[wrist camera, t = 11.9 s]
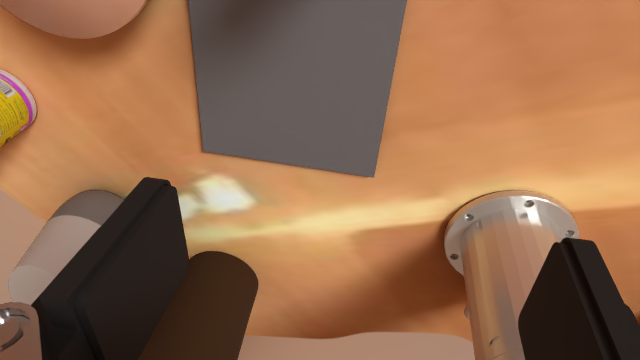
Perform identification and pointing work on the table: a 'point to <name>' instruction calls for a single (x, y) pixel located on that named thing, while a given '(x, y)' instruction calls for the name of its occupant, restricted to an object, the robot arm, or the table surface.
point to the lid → (75, 15)
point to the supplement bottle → (14, 107)
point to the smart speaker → (60, 242)
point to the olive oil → (206, 311)
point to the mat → (296, 79)
